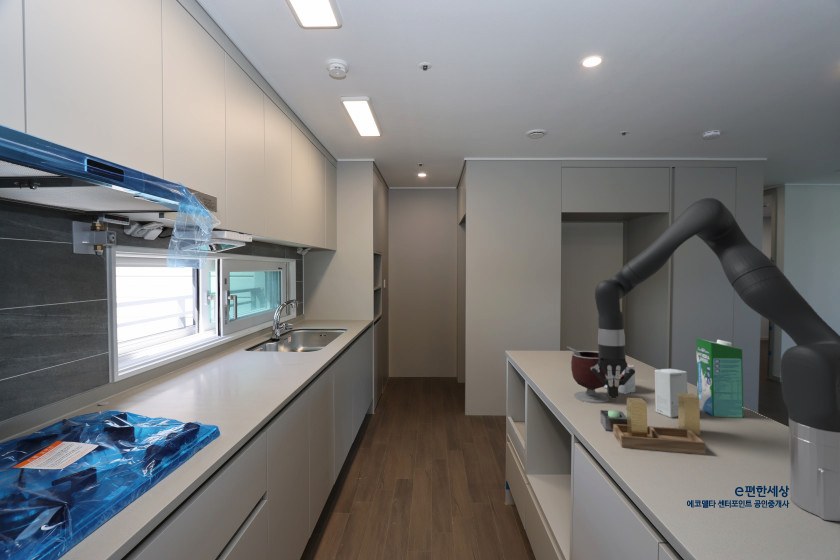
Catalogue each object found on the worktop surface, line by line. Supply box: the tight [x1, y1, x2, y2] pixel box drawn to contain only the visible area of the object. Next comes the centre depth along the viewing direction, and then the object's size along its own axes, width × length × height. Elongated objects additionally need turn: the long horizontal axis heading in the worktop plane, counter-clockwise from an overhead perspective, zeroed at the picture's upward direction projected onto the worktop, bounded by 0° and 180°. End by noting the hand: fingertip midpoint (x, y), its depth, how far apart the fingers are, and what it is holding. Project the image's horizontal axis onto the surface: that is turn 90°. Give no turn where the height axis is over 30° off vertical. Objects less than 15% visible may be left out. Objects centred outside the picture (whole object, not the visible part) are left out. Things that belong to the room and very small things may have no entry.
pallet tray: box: [612, 424, 706, 455], centre depth 102 cm, size 9×20×3 cm, turn 75°
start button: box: [607, 409, 620, 417], centre depth 113 cm, size 3×3×4 cm
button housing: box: [599, 409, 627, 432], centre depth 113 cm, size 6×6×4 cm
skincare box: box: [654, 368, 689, 419], centre depth 123 cm, size 8×6×15 cm
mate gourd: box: [566, 346, 610, 404], centre depth 141 cm, size 16×14×20 cm
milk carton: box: [695, 337, 745, 419], centre depth 123 cm, size 9×9×25 cm
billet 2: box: [677, 393, 701, 436], centre depth 109 cm, size 4×4×11 cm
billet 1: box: [626, 397, 648, 438], centre depth 103 cm, size 4×4×11 cm
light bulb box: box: [603, 363, 636, 395], centre depth 150 cm, size 11×7×11 cm, turn 25°
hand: (613, 397), depth 113 cm, fingers closed
